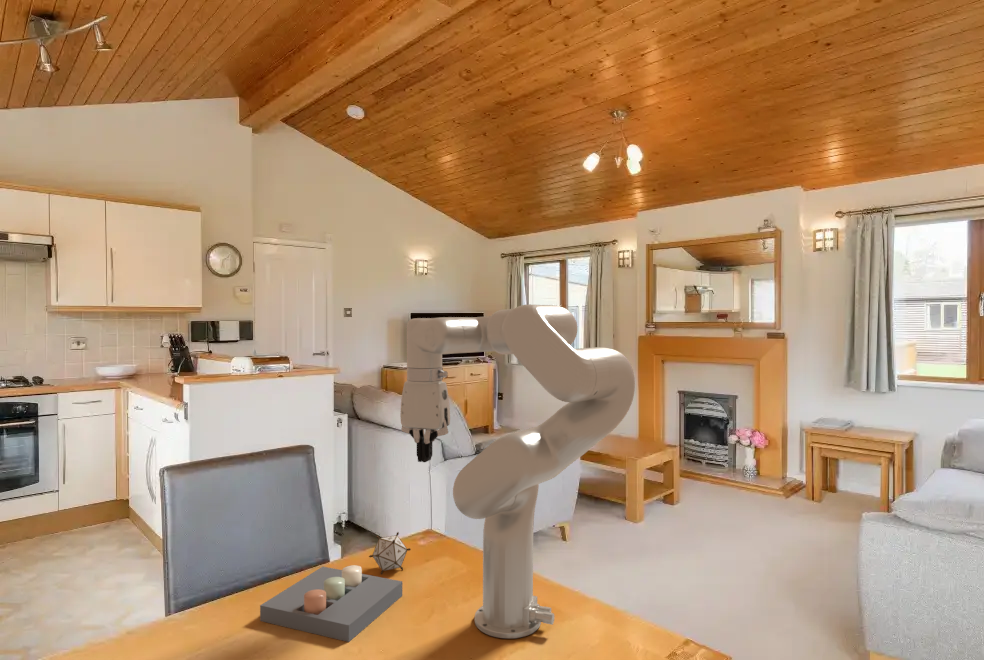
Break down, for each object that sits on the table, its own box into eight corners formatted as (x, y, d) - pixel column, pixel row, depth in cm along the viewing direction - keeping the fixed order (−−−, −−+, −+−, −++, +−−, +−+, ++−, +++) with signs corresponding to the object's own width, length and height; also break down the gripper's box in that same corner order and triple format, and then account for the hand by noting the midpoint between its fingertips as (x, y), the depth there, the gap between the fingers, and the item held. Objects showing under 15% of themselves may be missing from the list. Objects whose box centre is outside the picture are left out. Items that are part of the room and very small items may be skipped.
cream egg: (365, 590, 126) (365, 567, 126) (354, 598, 122) (354, 574, 122) (349, 587, 127) (349, 564, 127) (338, 595, 124) (338, 571, 123)
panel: (402, 595, 124) (402, 581, 124) (348, 641, 107) (348, 625, 107) (322, 579, 132) (322, 566, 131) (260, 620, 114) (260, 605, 114)
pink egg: (330, 617, 115) (330, 591, 114) (317, 627, 111) (317, 600, 111) (313, 613, 116) (313, 588, 116) (299, 623, 112) (299, 597, 112)
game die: (395, 588, 136) (405, 563, 130) (361, 574, 136) (369, 549, 130) (408, 556, 143) (418, 531, 138) (375, 543, 143) (383, 517, 138)
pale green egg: (348, 603, 120) (348, 578, 120) (336, 612, 116) (336, 587, 116) (332, 599, 122) (332, 575, 122) (319, 608, 118) (319, 583, 118)
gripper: (463, 375, 129) (463, 460, 129) (402, 372, 134) (402, 454, 135) (448, 378, 122) (448, 468, 122) (385, 375, 127) (385, 461, 128)
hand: (424, 460), depth 129 cm, fingers closed
